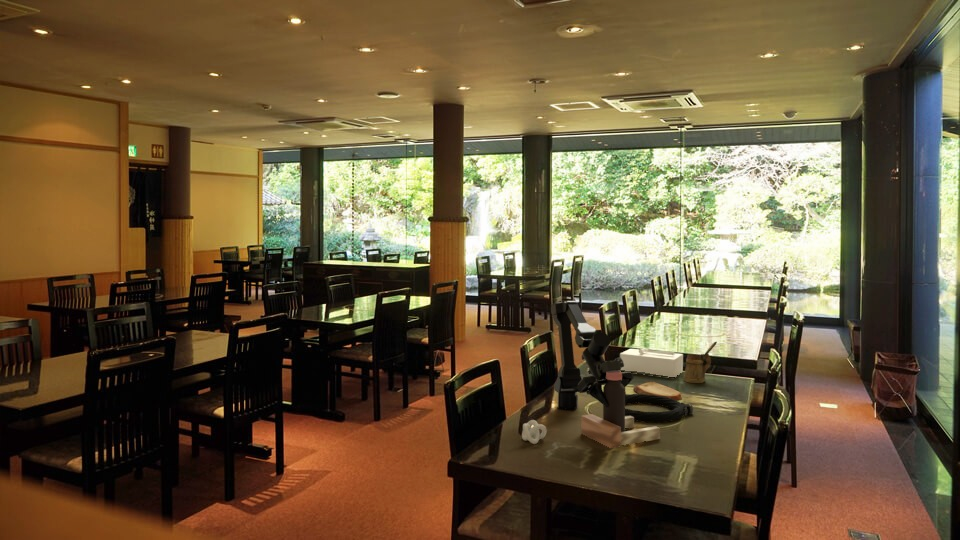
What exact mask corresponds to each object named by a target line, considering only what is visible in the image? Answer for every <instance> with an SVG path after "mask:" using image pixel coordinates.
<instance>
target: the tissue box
mask: <svg viewBox="0 0 960 540" xmlns="http://www.w3.org/2000/svg"><path fill="white" fill-rule="evenodd" d="M619 358H621V359H622V360H623V363H624V367H622V368H621V370H625V371H637V372H645V373H650V374H656V375H663V376H668V377H667V378H669V377H675V378H677V377H678V376H679V375H680V373H681V374H682V373H683V372H684V371H683V369H684V368H683V367H684V354H683V353H678V352H675V351H665V350H664V351H663V350H650V348H646V347H643V348H640V349H636V348H629V349H627V350H625V351H623V352H620V353H619ZM677 375H678V376H677Z"/></svg>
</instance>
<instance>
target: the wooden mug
mask: <svg viewBox="0 0 960 540" xmlns="http://www.w3.org/2000/svg"><path fill="white" fill-rule="evenodd" d="M717 343H718V341H714V342H713V343H712V344H711V345H710V346H709V348H708V349H707V350H706V351H705V353H701V354H694V353H692V354H691V353H690V354H687V357H686V359H685V363H686V364H685V368H684V375H683V378H682V380H683V381H684V382H686V383H690V384H703V383H705V382H706V373H707V370H708V369H709V368H710V366H711V363H712V359H711V356H710V354H709V353H710V352H711V351H712V350H713V349H714V348H715V346H716V345H717ZM704 361H705V362H706V364H705V365H703V364H704Z"/></svg>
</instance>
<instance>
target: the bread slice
mask: <svg viewBox="0 0 960 540" xmlns="http://www.w3.org/2000/svg"><path fill="white" fill-rule="evenodd" d="M633 390H634V392H635V391H636V392H637V393H636V392H635V393H636V394H638V393H639V394H646V395H656V396H664V397H667V398H672V399H674V400H676V401H681V400H683V397H682V394H681V392H680V391H678V390H676V389H674V388H672V387H669V386H666V385H663V384H661V383H657V382H655V381H649V382H645V383H641V384H640V385H638V384H636V385H634V387H633Z"/></svg>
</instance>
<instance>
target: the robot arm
mask: <svg viewBox="0 0 960 540" xmlns="http://www.w3.org/2000/svg"><path fill="white" fill-rule="evenodd" d="M550 312H551V315H552V320H553V321H554V323H555V324H556V325H557V327H558V328H557V329H558V339H559V349H560V351H559V352H560V361H561V365H560V368H559V369H558V372H557V377H556V380H555V382H554V384H553V385H554V386H553V389H554V391H555V392H556V393H558V394H557V397H558V398H557V400H558V401H557V402H558V403H557V405H558V406H557V407H556V409H557V410H564V411H565V410H566V411H575V410H576V409H577V408H578V407H579V396H578V394H577V393H580V394H583V393H584V394H585V393H586V395H589V396H591V397H592V398H594V399H596V400H597V401H598V402H599V403H601V405H602V406H603V405H604V406H606V407H608V406H609V404H608V401H607V399H606V397H605V395H604V393H603V386H604V385H605V384H606V383H607V380H606V372H609V371H614V370H618V371H620V370H621V368H622V367H624V363H623V360H622V359H621V358H620V357H616V358H613V360H605V358H604V356H603V355H604V354H605V353H606V352H607V349H608V348H609V346H610V344H611V342H612V340H611V337H610V336H609V335H608V334H607V333H605V332H604V331H603V330H602V329H596V328H595V327H594V326H592V325H590V324H588V321H587V320H586V317H585V316H584V314H583V312H582V310H581V308H580V304H579V302H578V301H577V300H565V301H559V302H558V301H556V302H554V303H553V304H552V305H551V307H550ZM572 327H573V329H574V331H575V335H574V341H575V344H576V346H577V347H578V348H579V349H581V348H583V349H584V348H585V349H584V351H582V353H581V360H585V363H586V365H587V367H588V369H589V370H588V371H587V373H588V375H590V376H584V377H582V376H581V369H580V368H579V367H578V366H576V363H575V357H574V346H573V333H572ZM633 379H635V377H634V375H633V373H631V372H622V381H621V384H622V385H623V386H624V387H625V388H627V386H628V385H629V384H630V383H631V382H632V381H633ZM626 395H627V393H626V391H625V405H627V404H626V403H627V401H626Z"/></svg>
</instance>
